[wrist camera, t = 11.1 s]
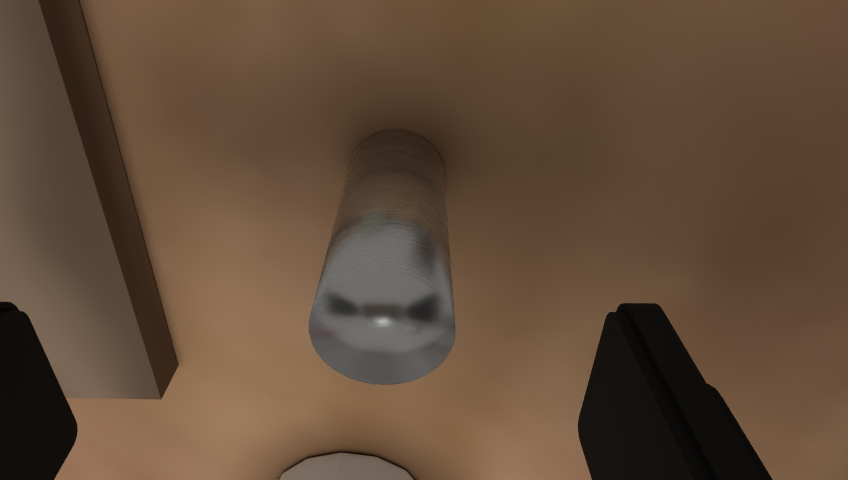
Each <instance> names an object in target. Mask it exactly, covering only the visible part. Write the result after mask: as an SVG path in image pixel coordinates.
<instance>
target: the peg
mask: <svg viewBox="0 0 848 480" xmlns="http://www.w3.org/2000/svg"><path fill="white" fill-rule="evenodd" d="M309 333H310V338H311V341H312V344H313V346H314V348H315V350H316V352H317V353H318V354H319V356H320V357H321V358H322V359H323V360H324V361H325V362H326V363H327V364H328V365H329V366H330V367H331V368H333V369H334V370H336V371H337V372H339V373H340V374H342V375H344V376H347V377H349V378H351V379H354V380H357V381H361V382H365V383H370V384H380V385H389V384H400V383H405V382H409V381H412V380H415V379H418V378H420V377H422V376H425V375H426V374H428V373H430V372H431V371H433V370H434V369H435V368H437V367H438V366H439V365H440V364H441V363H442V362H443V361H444V360H445V359H446V357H447V356H448V354H449V353H450V351H451V349H452V346H453V343H454V339H455V317H454V303H453V289H452V276H451V262H450V248H449V235H448V221H447V207H446V194H445V180H444V169H443V163H442V160H441V158H440V156H439V154H438V152H437V151H436V149H435V148H434V147H433V146H432V144H431V143H429V142H428V141H427V140H426V139H424V138H423V137H421V136H419V135H417V134H415V133H412V132H409V131H405V130H387V131H382V132H379V133H376V134H374V135H372V136H370V137H369V138H367V139H366V140H364V141H363V142H362V143H361V144H360V145H359V146H358V148H357V149H356V151H355V152H354V154H353V156H352V159H351V162H350V166H349V170H348V174H347V177H346V181H345V185H344V189H343V193H342V196H341V200H340V204H339V208H338V212H337V216H336V219H335V223H334V227H333V231H332V235H331V239H330V242H329V246H328V250H327V254H326V258H325V262H324V265H323V269H322V273H321V277H320V281H319V285H318V288H317V292H316V296H315V300H314V304H313V308H312V311H311V315H310V321H309Z"/></svg>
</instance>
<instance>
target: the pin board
mask: <svg viewBox="0 0 848 480" xmlns="http://www.w3.org/2000/svg"><path fill="white" fill-rule="evenodd" d="M0 302H11V303H13V304H14V305H16V306H17V308H18V309H19V311H23V312H25V313H26V314H27V315H28V317H29V318H30V321H31V323H32V325H33V327H34V329H35V332H36V334H37V336H38V338H39V340H40V343H41V345H42V347H43V349H44V351H45V354H46V356H47V358H48V360H49V362H50V365H51V367H52V369H53V371H54V373H55V376H56V378H57V380H58V382H59V384H60V387H61V389H62V391H63V393H64V395H65V397H69V398H117V399H162V397H163V395H164V393H165V391H166V389H167V387H168V385H169V383H170V381H171V379H172V377H173V375H174V373H175V371H176V369H177V367H178V364H177V360H176V356H175V353H174V349H173V345H172V342H171V338H170V334H169V331H168V327H167V323H166V320H165V316H164V312H163V309H162V305H161V301H160V298H159V294H158V290H157V287H156V283H155V279H154V276H153V272H152V268H151V265H150V261H149V257H148V254H147V250H146V246H145V243H144V239H143V235H142V232H141V228H140V224H139V221H138V217H137V213H136V210H135V206H134V202H133V199H132V195H131V191H130V188H129V184H128V180H127V177H126V173H125V169H124V166H123V162H122V158H121V155H120V151H119V147H118V144H117V140H116V136H115V133H114V129H113V125H112V122H111V118H110V114H109V111H108V107H107V103H106V100H105V96H104V92H103V89H102V85H101V81H100V78H99V74H98V70H97V67H96V63H95V59H94V56H93V52H92V48H91V45H90V41H89V37H88V34H87V30H86V26H85V23H84V19H83V15H82V12H81V8H80V4H79V1H78V0H0Z"/></svg>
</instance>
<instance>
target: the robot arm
mask: <svg viewBox="0 0 848 480" xmlns="http://www.w3.org/2000/svg"><path fill="white" fill-rule="evenodd" d="M578 433H579V439H580V443H581V446H582V449H583V452H584V455H585V459H586V462H587V465H588V468H589V471H590V474H591V478H592V480H772V478H771V476H770V475H769V473H768V471H767V470H766V468H765V467H764V465H763V463H762V462H761V460H760V458H759V457H758V455H757V453H756V452H755V450H754V449H753V447H752V445H751V444H750V442H749V440H748V439H747V437H746V435H745V434H744V432H743V431H742V429H741V427H740V426H739V424H738V422H737V421H736V419H735V417H734V416H733V414H732V413H731V411H730V409H729V408H728V406H727V404H726V403H725V401H724V399H723V398H722V396H721V395H720V394H719V393H718V391H717V390H716V389H715V388H714V387H712V386H711V385H709V384H706V382H705V380H704V378H703V377H702V375H701V373H700V372H699V370H698V368H697V367H696V365H695V363H694V362H693V360H692V358H691V357H690V355H689V353H688V352H687V350H686V348H685V347H684V345H683V343H682V342H681V340H680V338H679V337H678V335H677V333H676V332H675V330H674V328H673V326H672V325H671V323H670V321H669V320H668V318H667V316H666V315H665V313H664V311H663V310H662V308H661V307H660V306H659V305H657V304H646V303H623V304H620V305H619V307H618V308H617V311H616V312H610V313H608V315H607V317H606V319H605V323H604V327H603V330H602V334H601V338H600V342H599V345H598V349H597V353H596V356H595V360H594V364H593V368H592V371H591V375H590V379H589V382H588V386H587V390H586V393H585V397H584V401H583V405H582V408H581V412H580V416H579V420H578ZM76 437H77V423H76V420H75V417H74V415H73V413H72V411H71V409H70V406H69V404H68V402H67V400H66V398H65V395H64V393H63V391H62V389H61V387H60V384H59V382H58V380H57V378H56V376H55V373H54V371H53V369H52V367H51V365H50V362H49V360H48V358H47V356H46V354H45V351H44V349H43V347H42V345H41V343H40V340H39V338H38V336H37V334H36V332H35V329H34V327H33V325H32V323H31V321H30V318H29V317H28V315H27V314H26V313H25V312H23V311H19V309H18V308H17V306H16V305H14V304H13V303H11V302H0V480H54V479H55V477H56V475H57V473H58V472H59V470H60V468H61V466H62V465H63V463H64V461H65V459H66V458H67V456H68V454H69V452H70V451H71V449H72V447H73V445H74V443H75V440H76Z"/></svg>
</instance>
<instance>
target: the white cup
mask: <svg viewBox="0 0 848 480" xmlns="http://www.w3.org/2000/svg"><path fill="white" fill-rule="evenodd" d="M279 480H414V479H413V478H412V477H411V476H410V475H409V474H408V472H407V471H406V470H404V469H402V468H400V467H397V466H395V465H393V464H391V463H389V462H387V461H385V460H382V459H380V458H378V457H374V456H366V455H358V454H350V453H335V454H330V455H324V456H318V457H313V458H308V459H306V460H304V461H302V462H301V463H299V464H297V465H296V466H294V467H292V468H291V469H289V470H287V471H286V472H284V473H283V474H282V475H281V477H280V479H279Z"/></svg>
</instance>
